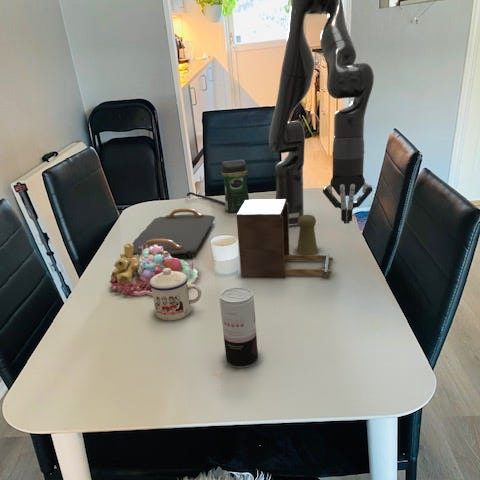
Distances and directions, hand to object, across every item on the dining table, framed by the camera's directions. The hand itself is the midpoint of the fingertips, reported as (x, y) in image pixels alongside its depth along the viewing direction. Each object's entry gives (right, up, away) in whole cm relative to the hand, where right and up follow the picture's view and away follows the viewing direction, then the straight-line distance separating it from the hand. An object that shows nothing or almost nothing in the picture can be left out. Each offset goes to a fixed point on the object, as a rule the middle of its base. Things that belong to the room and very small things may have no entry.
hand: (346, 222), depth 131 cm
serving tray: (-50, +1, +37) cm, 63 cm away
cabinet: (-21, -11, +11) cm, 26 cm away
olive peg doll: (-8, -5, +20) cm, 22 cm away
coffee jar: (-29, +17, +63) cm, 71 cm away
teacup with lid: (-43, -24, -8) cm, 50 cm away
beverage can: (-28, -34, -28) cm, 52 cm away
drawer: (-9, -11, +9) cm, 17 cm away
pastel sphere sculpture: (-52, -14, +11) cm, 55 cm away
